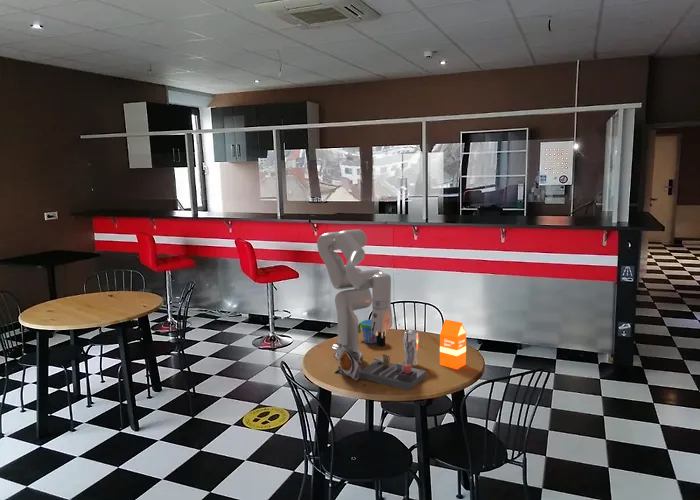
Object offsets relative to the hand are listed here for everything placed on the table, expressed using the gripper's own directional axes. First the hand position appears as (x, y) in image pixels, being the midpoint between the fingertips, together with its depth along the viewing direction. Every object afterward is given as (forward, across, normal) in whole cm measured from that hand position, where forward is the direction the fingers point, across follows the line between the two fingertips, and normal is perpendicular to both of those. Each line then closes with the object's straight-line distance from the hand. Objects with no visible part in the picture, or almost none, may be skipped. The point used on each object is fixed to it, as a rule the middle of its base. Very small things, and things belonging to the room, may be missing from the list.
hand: (380, 345), depth 218 cm
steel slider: (+10, +2, -8) cm, 13 cm away
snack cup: (+15, +35, +26) cm, 46 cm away
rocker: (+10, +6, +4) cm, 12 cm away
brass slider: (+10, +3, -1) cm, 11 cm away
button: (+8, -3, -14) cm, 16 cm away
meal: (+14, -9, +11) cm, 20 cm away
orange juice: (+13, +27, -21) cm, 37 cm away
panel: (+13, +1, -5) cm, 14 cm away
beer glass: (+13, +18, -5) cm, 23 cm away
